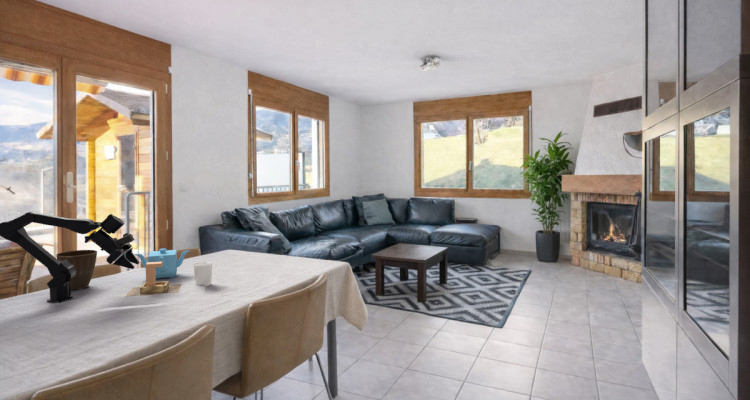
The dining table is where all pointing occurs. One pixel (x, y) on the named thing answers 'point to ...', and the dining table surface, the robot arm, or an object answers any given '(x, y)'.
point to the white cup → (203, 273)
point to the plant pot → (80, 266)
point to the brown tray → (154, 289)
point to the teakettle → (164, 262)
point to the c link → (152, 273)
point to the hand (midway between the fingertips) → (136, 265)
